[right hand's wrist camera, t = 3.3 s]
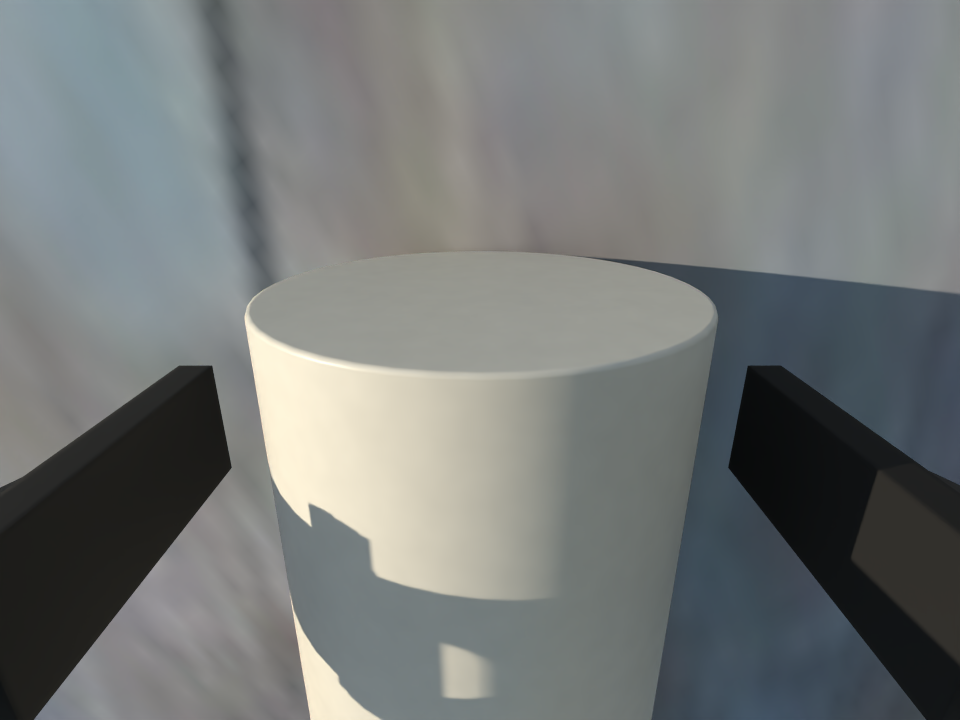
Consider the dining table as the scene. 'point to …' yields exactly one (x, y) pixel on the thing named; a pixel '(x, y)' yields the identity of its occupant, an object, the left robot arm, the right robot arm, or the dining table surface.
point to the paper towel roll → (481, 478)
